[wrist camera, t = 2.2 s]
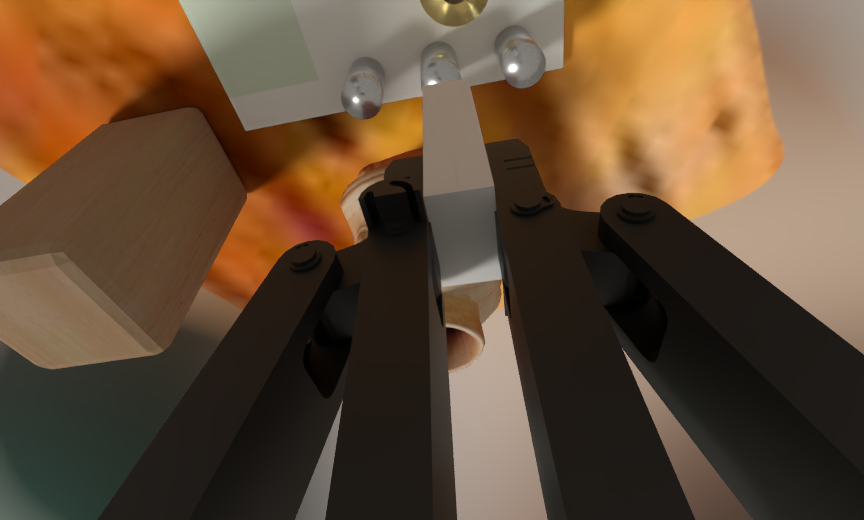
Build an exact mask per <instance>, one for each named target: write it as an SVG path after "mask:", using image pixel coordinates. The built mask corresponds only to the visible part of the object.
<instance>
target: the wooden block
mask: <svg viewBox="0 0 864 520" xmlns="http://www.w3.org/2000/svg"><path fill="white" fill-rule="evenodd" d="M246 199H247V194H246V189H245V187H244V185H243V184H242V182H241V180H240V178H239V177H238V175H237V173H236V171H235V169H234V168H233V166H232V164H231V162H230V161H229V159H228V157H227V155H226V154H225V152H224V150H223V148H222V146H221V145H220V143H219V141H218V139H217V138H216V136H215V134H214V132H213V130H212V129H211V127H210V125H209V123H208V122H207V120H206V118H205V116H204V115H203V113H202V112H201V111H200V110H199V109H198V108H192V107H186V108H181V109H176V110H171V111H166V112H161V113H157V114H152V115H147V116H142V117H137V118H132V119H127V120H122V121H118V122H113V123H108V124H103V125H101V126H100V127H98V128H97V129H96V130H95V131H93V132H92V133H91V134H90V135H88V136H87V137H86V138H85V139H83V140H82V141H81V142H80V143H78V144H77V145H76V146H75V147H73V148H72V149H71V150H70V151H68V152H67V153H66V154H65V155H63V156H62V157H61V158H60V159H58V160H57V161H56V162H55V163H53V164H52V165H51V166H50V167H48V168H47V169H46V170H45V171H43V172H42V173H41V174H39V175H38V176H37V177H36V178H34V179H33V180H32V181H31V182H29V183H28V184H27V185H26V186H24V187H23V188H22V189H21V190H19V191H18V192H17V193H16V194H14V195H13V196H12V197H11V198H10V199H8V200H7V201H6V202H4V203H3V204H2V205H1V206H0V340H1V341H3V342H4V343H5V344H7V345H8V346H10V347H11V348H13V349H14V350H15V351H17V352H18V353H20V354H21V355H22V356H24V357H25V358H27V359H28V360H30V361H31V362H32V363H34V364H35V365H37V366H40V367H43V368H49V369H58V368H65V367H72V366H79V365H86V364H93V363H100V362H107V361H114V360H121V359H128V358H135V357H143V356H150V355H156V354H158V353H160V352H162V351H164V350H165V349H166V348H167V347H168V346H170V344H171V343H172V341H173V339H174V337H175V335H176V333H177V331H178V329H179V327H180V325H181V323H182V322H183V319H184V318H185V316H186V314H187V312H188V310H189V308H190V306H191V304H192V302H193V300H194V299H195V297H196V295H197V293H198V291H199V289H200V287H201V285H202V283H203V281H204V280H205V278H206V276H207V274H208V272H209V270H210V268H211V266H212V264H213V262H214V260H215V259H216V257H217V255H218V253H219V251H220V249H221V247H222V245H223V243H224V241H225V239H226V238H227V236H228V234H229V232H230V230H231V228H232V226H233V224H234V222H235V220H236V218H237V217H238V215H239V213H240V211H241V209H242V207H243V205H244V203H245V201H246Z"/></svg>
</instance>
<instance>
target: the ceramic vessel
mask: <svg viewBox="0 0 864 520" xmlns="http://www.w3.org/2000/svg"><path fill="white" fill-rule="evenodd" d="M421 155H423V149H419V150H414V151H409V152H406V153H402V154H399V155H396V156H393V157H391V158H388V159H385V160H382V161H380V162H377V163H373V164H371V165H368V166H366V167H365V168H363V169H362V170H361V171H360V173H359V176H358V178H357V179H356V180H355V181H353V182H352V183H351V184H349V185H348V186H347V188H346V190H345V191H344V193H343V196H342V199H341V201H340V206H341V208H342V211H343V213H344V215H345V217H346V219H347V221H348V224H349V226H350V228H351V231H352V239H353V242H354V245H355V244H357V243H359V242H361V241H363V240H364V239H366V238H367V235H368V228H367V225H366V222H365V219H364V216H363V213H362V210H361V207H360V204H359V201H358V198H359V196H360V194H361V192H363V191H364V190H365V189H366V188H367V187H368V186H370V185H372V184H374V183H376V182H378V181H381V180H384V173H385V169H386V168H387V167H388V166H389V164H390V163H391V162H392V161H393V160H396V159H402V158H408V157H415V156H421ZM500 285H501V280H493V281H485V282H477V283H470V284H462V285H454V286H447V287H442V283H441V289H442V294H443V299H444V305H445V322H446V339H447V356H448V373H453V372H456V371H459V370H462V369H464V368H467V367H468V366H470V365H471V364H472V363H473V362H474V361H475V360H477V359H478V357H479V356H480V355H481V353H482V351H483V348H484V345H485V340H484V334H483V330H482V326H481V324H482V323H484V322H485V320H486V319H487V318H488V317H489V316H490V315H491V314H492V313H493V312H494V311H495V309H496V308H497V307H498V305H499V303H500V298H501V289H500Z"/></svg>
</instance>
